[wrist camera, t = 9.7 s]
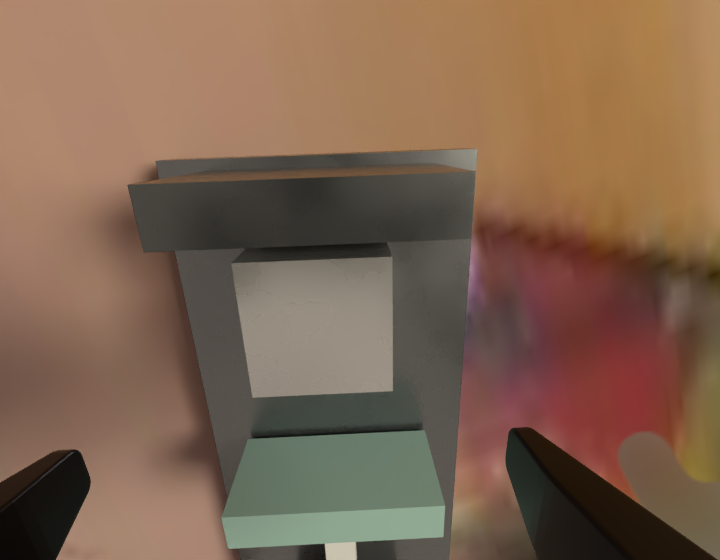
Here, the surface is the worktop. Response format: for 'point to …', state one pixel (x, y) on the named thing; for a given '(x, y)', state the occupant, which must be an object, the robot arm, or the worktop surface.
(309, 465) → the ram
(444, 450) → the press
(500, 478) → the worktop surface
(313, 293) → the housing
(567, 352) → the worktop surface
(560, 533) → the robot arm
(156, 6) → the worktop surface
